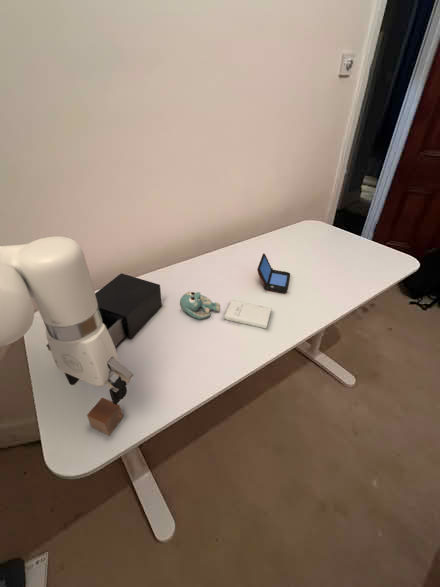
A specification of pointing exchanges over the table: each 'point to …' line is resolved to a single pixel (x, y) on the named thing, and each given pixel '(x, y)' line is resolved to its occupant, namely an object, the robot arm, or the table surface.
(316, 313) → the table surface
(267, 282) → the handheld console
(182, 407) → the table surface
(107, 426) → the block
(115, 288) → the cabinet
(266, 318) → the hard drive
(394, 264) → the table surface
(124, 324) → the drawer
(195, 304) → the stuffed animal
